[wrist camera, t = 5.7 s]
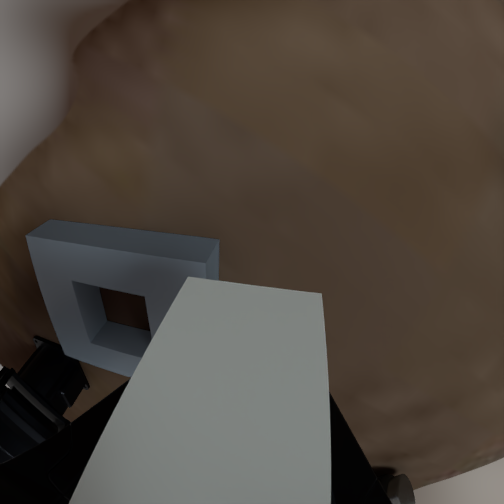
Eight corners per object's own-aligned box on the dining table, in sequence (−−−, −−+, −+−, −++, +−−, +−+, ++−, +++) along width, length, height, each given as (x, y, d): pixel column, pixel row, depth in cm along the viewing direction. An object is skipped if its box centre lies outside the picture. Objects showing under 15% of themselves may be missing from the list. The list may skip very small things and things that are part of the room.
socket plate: (80, 334, 26) (64, 356, 23) (50, 219, 21) (23, 236, 18) (218, 369, 25) (209, 399, 22) (219, 239, 19) (204, 265, 16)
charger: (193, 365, 11) (120, 569, 4) (188, 276, 9) (49, 547, 2) (299, 381, 11) (280, 602, 3) (321, 293, 9) (323, 612, 2)
